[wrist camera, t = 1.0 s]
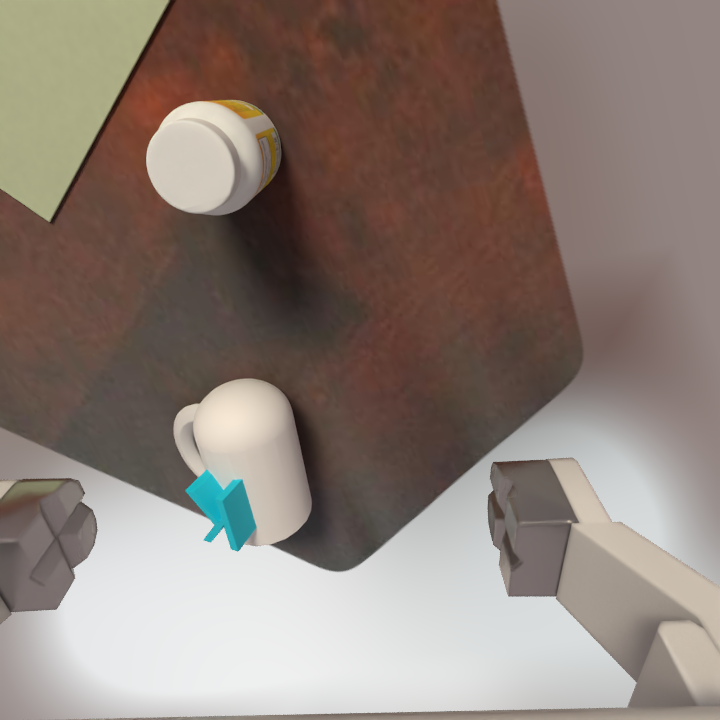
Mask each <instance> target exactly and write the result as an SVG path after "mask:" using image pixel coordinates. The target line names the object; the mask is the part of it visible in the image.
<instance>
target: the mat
mask: <svg viewBox="0 0 720 720" xmlns="http://www.w3.org/2000/svg"><path fill="white" fill-rule="evenodd" d="M169 2H170V0H0V189H2V190H3V191H5V192H6V193H8V194H9V195H11V196H12V197H14V198H15V199H16V200H18V201H19V202H21V203H22V204H24V205H25V206H27V207H28V208H29V209H31V210H32V211H34V212H35V213H37V214H38V215H40V216H41V217H43V218H44V219H45V220H47V221H48V222H50V221H51V220H52V218H53V216H54V214H55V212H56V211H57V209H58V207H59V205H60V203H61V201H62V200H63V198H64V196H65V194H66V192H67V190H68V188H69V187H70V185H71V183H72V181H73V179H74V177H75V176H76V174H77V172H78V170H79V168H80V166H81V164H82V163H83V161H84V159H85V157H86V155H87V153H88V152H89V150H90V148H91V146H92V144H93V142H94V140H95V139H96V137H97V135H98V133H99V131H100V129H101V128H102V126H103V124H104V122H105V120H106V118H107V117H108V115H109V113H110V111H111V109H112V107H113V105H114V104H115V102H116V100H117V98H118V96H119V94H120V93H121V91H122V89H123V87H124V85H125V83H126V81H127V80H128V78H129V76H130V74H131V72H132V70H133V69H134V67H135V65H136V63H137V61H138V59H139V57H140V56H141V54H142V52H143V50H144V48H145V46H146V45H147V43H148V41H149V39H150V37H151V35H152V33H153V32H154V30H155V28H156V26H157V24H158V22H159V21H160V19H161V17H162V15H163V13H164V11H165V10H166V8H167V6H168V4H169Z"/></svg>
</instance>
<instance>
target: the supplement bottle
mask: <svg viewBox="0 0 720 720" xmlns="http://www.w3.org/2000/svg"><path fill="white" fill-rule="evenodd" d="M280 160H281V144H280V139H279V136H278V133H277V131H276V128H275V127H274V125H273V123H272V122H271V120H270V119H269V118H268V117H267V116H266V115H265V114H264V113H263V112H262V111H261V110H260V109H258V108H257V107H255V106H253V105H251V104H249V103H246V102H243V101H239V100H219V101H199V102H192V103H187V104H185V105H182V106H180V107H178V108H176V109H175V110H173V111H172V112H171V113H170V114H169V115H168V116H167V117H166V118H165V119H164V121H163V122H162V124H161V125H160V127H159V129H158V131H157V132H156V133H155V135H154V136H153V137H152V139H151V141H150V144H149V146H148V150H147V155H146V164H147V170H148V174H149V177H150V180H151V182H152V184H153V186H154V187H155V189H156V190H157V192H158V193H159V194H160V196H161V197H162V198H163V199H164V200H165V201H167V202H168V203H169V204H171V205H172V206H174V207H175V208H177V209H180V210H182V211H185V212H189V213H197V214H200V213H202V214H207V215H224V214H229V213H232V212H235V211H237V210H239V209H240V208H242V207H243V206H245V205H246V204H247V203H248V202H249V201H250V200H251V199H253V198H254V197H255V196H256V195H257V194H258V193H259V192H260V191H261V190H262V189H263V188H264V187H265V186H267V185H268V184H269V182H270V181H271V180H272V179H273V177H274V176H275V174H276V172H277V170H278V168H279V165H280Z"/></svg>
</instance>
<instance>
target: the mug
mask: <svg viewBox="0 0 720 720" xmlns="http://www.w3.org/2000/svg"><path fill="white" fill-rule="evenodd" d="M174 437H175V441H176V445H177V448H178V450H179V452H180V454H181V456H182V458H183V459H184V461H185V462H186V464H187V465H188V467H189V468H190V469H191V470H192V471H193V472H194V474H195V475H196V476H197V477H198V478H197V479H196V480H195V481H194V482H193V483H192V484H191V485H190V486H189V487H188V488H187V489H186V490H185V491H186V492H187V493H188V495H189V496H190V497H191V498H192V499H193V500H194V502H195V503H196V504H197V505H198V506H199V507H200V509H201V510H202V511H203V512H204V513H205V514H206V516H207V517H208V518H209V519H210V520H211V521H212V523H213V524H214V525H215V526H214V527H213V528H212V530H211V531H210V532H209V533H208V535H207V536H206V538H205V539H204V540H205V541H208V542H211V541H212V540H213V539H214V538H215V537H216V536H217V535H218V533H219V532H220V531H221V530H222V529H223V527H224V528H225V531H226V534H227V537H228V540H229V543H230V547H231V549H232V550H235V551H239V550H240V549H241V547H242V546H243V545H244V544H246V545H252V546H261V545H270V544H273V543H276V542H278V541H281V540H284V539H286V538H287V537H289V536H290V535H292V534H293V533H295V532H296V531H298V530H299V529H300V527H301V526H302V525H303V524H304V523H305V522H306V521H307V519H308V516H309V514H310V512H311V506H312V499H311V494H310V490H309V485H308V481H307V476H306V471H305V467H304V462H303V457H302V453H301V448H300V444H299V439H298V434H297V430H296V425H295V421H294V416H293V411H292V408H291V405H290V403H289V401H288V399H287V398H286V396H285V395H284V394H283V393H282V392H281V391H280V390H279V389H278V388H277V387H275V386H274V385H272V384H270V383H268V382H265V381H262V380H258V379H238V380H233V381H230V382H227V383H225V384H222V385H220V386H219V387H217V388H215V389H214V390H212V391H211V392H210V393H209V394H208V395H207V396H206V397H205V398H204V399H203V400H202V402H201V403H200V404H193V405H189V406H186V407H184V408H183V409H182V410H181V411H180V412H179V413H178V414H177V417H176V419H175V421H174ZM194 437H195V439H194ZM195 441H196V444H197V446H196V444H195ZM197 447H198V449H199V451H198V449H197ZM199 452H200V453H199Z"/></svg>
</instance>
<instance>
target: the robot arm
mask: <svg viewBox="0 0 720 720" xmlns="http://www.w3.org/2000/svg"><path fill="white" fill-rule="evenodd" d="M490 479H491V483H492V486H493V489H494V490H493V491H492V492H491V494H489V496H488V522H489V528H490V533H491V537H492V541H493V545H494V546H495V547H497V548H498V549H499V550H500V561H499V566H500V570H501V573H502V577H503V580H504V583H505V587H506V590H507V594H508V596H556V599H557V600H558V601H559V602H560V603H561V604H562V605H563V606H564V607H565V608H566V610H567V611H569V613H570V614H571V615H572V616H573V617H574V618H575V619H576V620H577V621H578V622H579V623H580V624H581V625H582V626H583V627H584V628H585V629H586V630H587V631H588V632H589V633H590V634H591V636H592V637H593V638H594V639H595V640H596V641H597V642H598V643H599V644H600V645H601V646H602V647H603V648H604V649H605V650H606V651H607V652H608V653H609V654H610V655H611V656H612V657H613V658H614V659H615V660H616V661H617V662H618V664H619V665H620V666H621V667H622V668H623V669H624V670H625V671H626V672H627V673H628V674H629V675H630V676H631V677H632V678H633V679H634V680H635V681H636V682H637V684H636V686H635V689H634V692H633V694H632V697H631V699H630V702H629V705H628V707H627V708H592V709H590V708H589V709H541V710H496V711H495V710H493V711H447V712H400V713H399V712H397V713H353V714H352V713H350V714H304V715H257V716H213V717H212V716H209V717H166V718H165V717H163V718H117V719H72V720H720V587H719V586H718V585H717V584H715V583H713V582H712V581H710V580H709V579H707V578H706V577H704V576H703V575H701V574H700V573H698V572H697V571H695V570H693V569H692V568H690V567H689V566H687V565H686V564H684V563H683V562H681V561H680V560H678V559H677V558H675V557H674V556H672V555H670V554H669V553H667V552H666V551H664V550H663V549H661V548H660V547H658V546H657V545H655V544H654V543H652V542H651V541H649V540H648V539H646V538H645V537H643V536H641V535H640V534H638V533H637V532H635V531H633V530H632V529H630V528H629V527H628V526H626V525H625V524H623V523H621V522H612V521H611V519H610V517H609V515H608V514H607V512H606V510H605V508H604V507H603V505H602V503H601V502H600V500H599V498H598V496H597V495H596V493H595V491H594V489H593V488H592V486H591V484H590V482H589V481H588V479H587V477H586V476H585V474H584V472H583V470H582V469H581V467H580V465H579V463H578V462H577V461H576V460H575V459H574V458H559V459H546V460H530V461H509V462H493V464H492V467H491V475H490ZM84 494H85V492H84V491H83V488H82V486H81V484H80V482H79V481H78V480H74V479H71V478H66V479H23V480H0V624H1V623H2V622H3V621H5V620H6V619H7V618H8V617H9V616H10V615H11V612H20V611H38V610H55V609H57V608H58V606H59V605H60V603H61V601H62V599H63V598H64V596H65V594H66V593H67V591H68V589H69V588H70V586H71V584H72V582H73V581H74V579H75V574H74V569H73V568H74V567H76V566H77V565H78V564H80V563H81V562H82V561H83V560H85V559H86V558H87V557H88V555H89V554H90V552H91V550H92V548H93V546H94V543H95V538H96V534H97V523H96V518H95V515H94V513H93V510H92V509H90V508H89V507H88V506H86V505H85V504H84V503H82V502H81V500H82V499H83V496H84ZM69 720H71V719H69Z"/></svg>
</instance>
